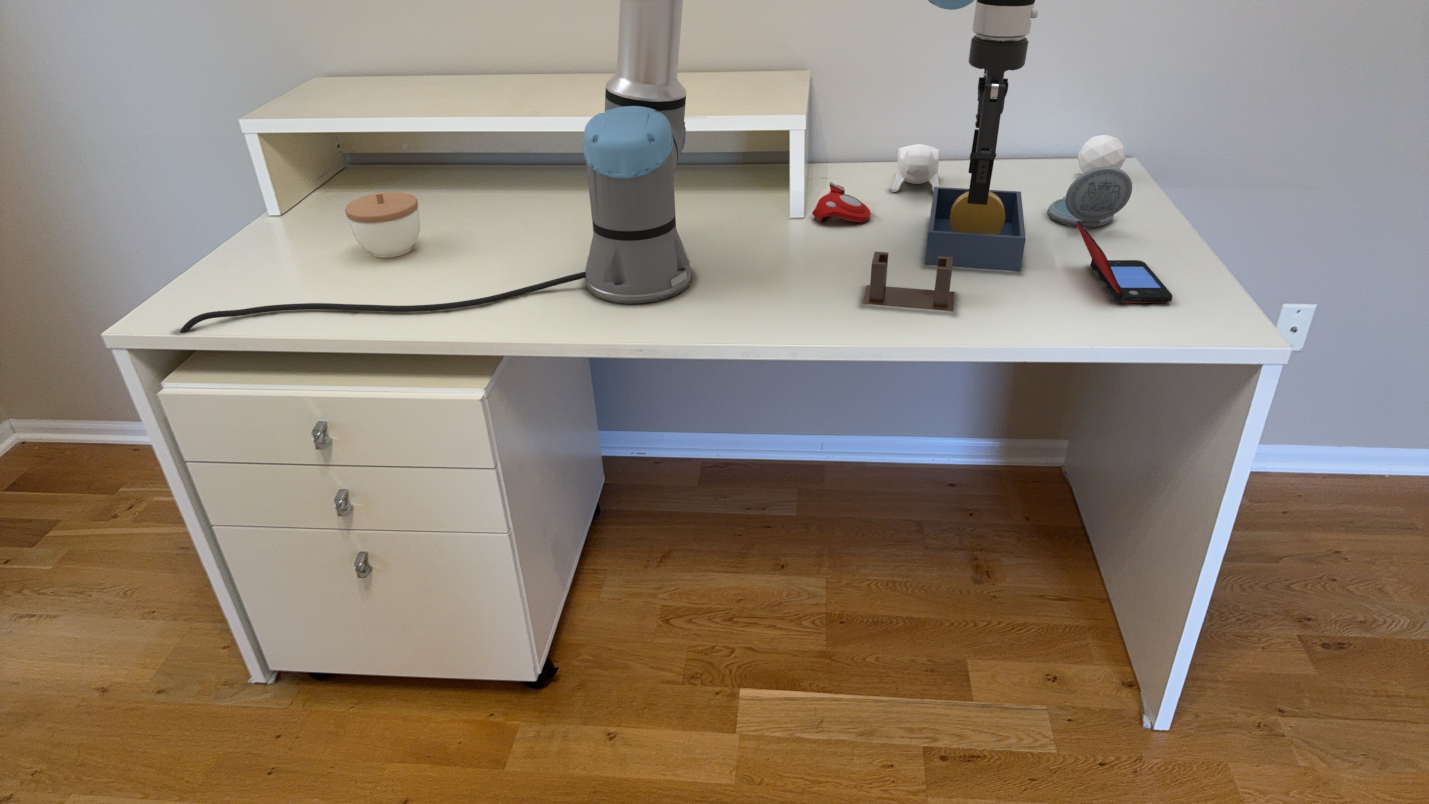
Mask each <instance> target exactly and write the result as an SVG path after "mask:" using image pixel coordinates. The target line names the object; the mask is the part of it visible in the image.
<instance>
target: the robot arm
mask: <svg viewBox="0 0 1429 804" xmlns="http://www.w3.org/2000/svg"><path fill="white" fill-rule="evenodd" d="M927 1H928V2H929V4H931V5H933V6H935V7H937V8H940V9H943V10H950V11H952V10H953V11H955V10H959V9H963V8H965V7H968V6H970V5H971V4H972V3H974V2H975V8H974V15H973V22H972V32H973V33H974V34H975V35H974V36H973V37H972V38H971V40H970V47H969V54H968V64H969V65H970V66H971V67H973V68H975V69H978V70H984V71H983V76H979V77H978V82H977V112H976V114H975V119H976V120H975V124H974V126H975V128H974V130H973V139H972V145H971V151H970V153H969V165H968V174H971V175H970V181H969V188H968V189H969V194H968V201H967V203H969V204H982V205H987V201H988V195H989V190H991V189H990V188H991V181H992V176H993V169H994V163H995V159H996V157H997V152H996V151H997V147H998V146H997V145H998V138H999V130H1000V122H1001V115H1002V114H1003V113H1004V109H1005V101H1006V97H1007V95H1008V92H1009V91H1008V90H1009V83H1010V82H1009V78H1005V72H1007V71H1016V70H1017V71H1018V70H1020V69H1022V68H1023V67H1024V66H1025V64H1026V60H1027V59H1026V58H1027V53H1028V47H1029V40H1028V38H1027V37H1026V36H1029V34H1030V31H1031V27H1032V20H1031V19H1037V17H1038V14H1039V12H1038V10H1036V9H1034V8H1035V3H1036V0H927ZM683 5H684V0H619V15H618V16H619V17H618V39H617V60H616V61H617V63H616V72H615V74H614V75H613V76H612V77H611V78H609V80H608V81H606V82H605V91H604V112H598V113H597V114H596V115H594V116H592V117H591V118H590V119H589V120H588V122H587V123H586V125H585V126H584V130H583V144H582V151H583V157H584V159H585V166H586V167H585V168H586V175H587V176H586V177H587V187H588V194H589V205H590V214H591V222H592V233H593V234H592V239H591V243H590V246H589V247H590V248H589V252H588V256H587V260H586V265H585V271H582V272H577V273H573V274H569V275H565V276H562V277H557V278H554V279H550V280H547V281H544V282H540V283H537V284H533V285H528V286H525V287H521V288H517V289H514V290H511V291H506V292H502V293H498V294H493V295H489V296H484V297H479V298H473V299H468V300H467V299H466V300H461V301H453V302H445V303H432V304H414V305H412V304H411V305H393V304H391V305H389V304H388V305H387V304H362V303H361V304H354V303H353V304H352V303H333V302H331V303H329V302H328V303H327V302H307V303H305V302H304V303H303V302H302V303H284V304H283V303H282V304H271V305H270V304H269V305H261V306H253V307H248V308H239V309H230V310H229V309H228V310H217V311H208V312H204V313H200V314H198V315H196V316H194V317H192V318H190V319H189V320H188V321H187V322H186V323H185V324H184V325H183V326H182V327H181V329H180V331H179V333H180V334H185V333H188V332H190V330H191V329H192V328H193V327H194V326H196V325H197V324H199V323H201V322H203V321H206V320H211V319H217V318H219V319H220V318H232V317H233V318H234V317H243V316H248V315H256V314H262V313H271V312H283V311H285V312H286V311H304V310H305V311H306V310H307V311H309V310H310V311H311V310H312V311H313V310H326V311H328V310H329V311H330V310H331V311H349V312H350V311H351V312H352V311H354V312H383V313H384V312H386V313H387V312H388V313H416V312H432V311H433V312H434V311H435V312H436V311H445V310H455V309H462V308H469V307H475V306H479V305H486V304H490V303H495V302H499V301H503V300H506V299H511V298H515V297H517V296H522V295H525V294H529V293H533V292H537V291H540V290H544V289H545V290H546V289H548V288H551V287H555V286H559V285H562V284H567V283H570V282H575V281H578V280H583V279H585V287H586V289H587V290H588V293H590V294H591V295H592V296H595V297H597V298H599V299H601V300H604V301H606V302H607V301H608V302H611V303H617V304H646V303H653V302H658V301H662V300H667V299H669V298H672V297H674V296H676V295H678V294H680V293H682V292H683V291H685V290H686V289H687V288H688V287H689V286H690V284H691V282H692V267H691V262H690V260H689V256H688V254H687V252H686V249H685V247H684V244H683V242H682V240H681V237H680V234H679V232H678V229H677V219H676V198H675V173H676V170H677V166H678V163H679V159H680V157H681V156H682V153H683V150H684V148H685V144H686V140H687V139H686V138H687V128H686V122H685V116H686V114H685V113H686V102H687V89H686V88H685V87H684V85H683V84H682V83H681V82H680V81H679V78H678V69H679V57H680V44H681V33H682V32H681V30H682V20H683V19H682V18H683V7H684V6H683Z"/></svg>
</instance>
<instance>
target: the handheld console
mask: <svg viewBox="0 0 1429 804" xmlns="http://www.w3.org/2000/svg"><path fill="white" fill-rule="evenodd" d="M1077 229H1078V231H1079V234H1080V236H1081V238H1082V240H1083V242H1084V245H1085V247H1086V250H1087V252H1088V253H1089V256H1090V258H1091V262H1090V268H1091V269H1092V271H1093V272H1094V273H1095V275H1097V277H1098V278H1099V280H1101V282H1103V283H1104V284H1105V285H1106V289H1107V291H1108V292H1109V293H1110V295H1111V296H1112V298H1113V300H1114V301H1115V302H1116V303H1118V304H1123V303H1125V304H1127V303H1128V304H1129V303H1132V304H1133V303H1135V304H1143V303H1144V304H1160V303H1162V304H1166V303H1170V302H1171V301H1172V300H1173V296H1174V295H1173V294H1172V292H1171V291H1170V290H1169V289H1168V287H1166V285H1165V284H1164V283H1163V282H1162V280H1160V278H1159V277H1158V276H1157V275H1156V274H1155V272H1154V271H1153V270H1152V269H1151V268H1150V266H1148V264H1147V263H1146V262H1145V261H1143V260H1139V259H1108V257H1107V255H1106V253H1105V252H1104V251H1103V249H1102V248H1101V247H1100V246H1099V244H1098V243H1097V241H1096V240H1095V239H1094V238H1093V236H1092V235H1091V234H1090V232H1089V231H1088V230H1087V229H1086V227H1084V226H1083V225H1082V224H1081V223H1080V221H1078V222H1077Z"/></svg>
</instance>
